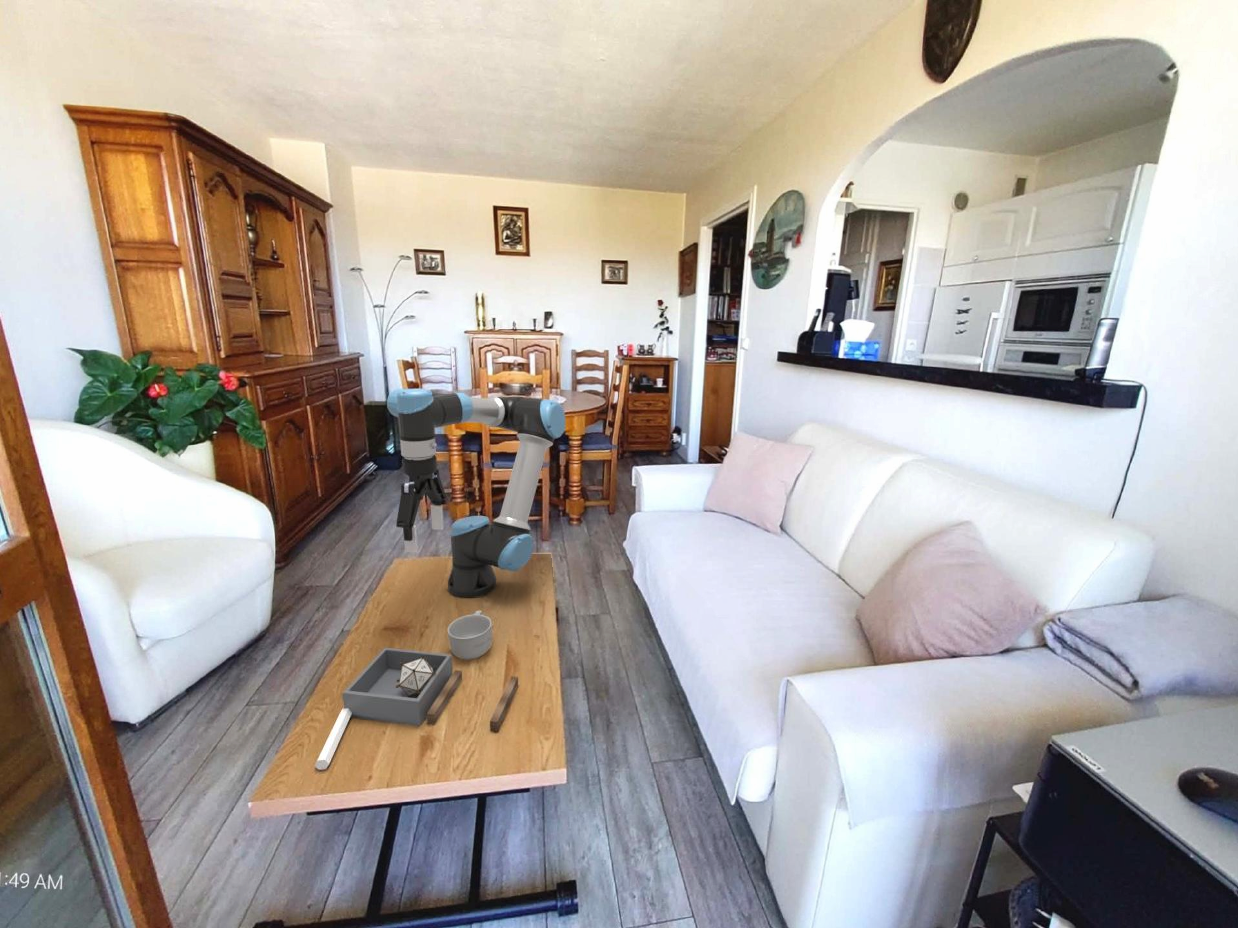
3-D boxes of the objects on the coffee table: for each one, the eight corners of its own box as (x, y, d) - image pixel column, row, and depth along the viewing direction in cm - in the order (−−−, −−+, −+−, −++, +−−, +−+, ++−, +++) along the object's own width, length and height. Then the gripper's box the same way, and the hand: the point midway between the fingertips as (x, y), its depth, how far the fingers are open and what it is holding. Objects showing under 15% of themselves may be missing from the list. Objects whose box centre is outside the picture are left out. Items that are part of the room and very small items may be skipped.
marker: (352, 709, 106) (324, 771, 90) (342, 706, 105) (313, 768, 90) (358, 700, 105) (331, 760, 90) (348, 696, 105) (319, 757, 90)
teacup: (480, 668, 120) (479, 640, 118) (440, 661, 122) (438, 633, 120) (504, 636, 133) (504, 610, 131) (467, 630, 135) (466, 604, 133)
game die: (396, 691, 111) (412, 646, 114) (432, 701, 111) (447, 656, 114) (381, 699, 103) (399, 650, 105) (420, 710, 103) (437, 661, 105)
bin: (386, 669, 118) (384, 647, 117) (452, 676, 116) (451, 654, 115) (345, 716, 103) (342, 692, 101) (420, 725, 101) (418, 701, 100)
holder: (455, 679, 116) (455, 669, 115) (518, 685, 114) (518, 676, 114) (427, 723, 102) (426, 713, 102) (497, 732, 101) (497, 721, 100)
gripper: (407, 471, 102) (415, 564, 107) (456, 445, 125) (460, 521, 131) (373, 469, 102) (382, 561, 108) (428, 443, 126) (434, 520, 132)
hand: (425, 540), depth 119 cm, fingers open, 13 cm apart
